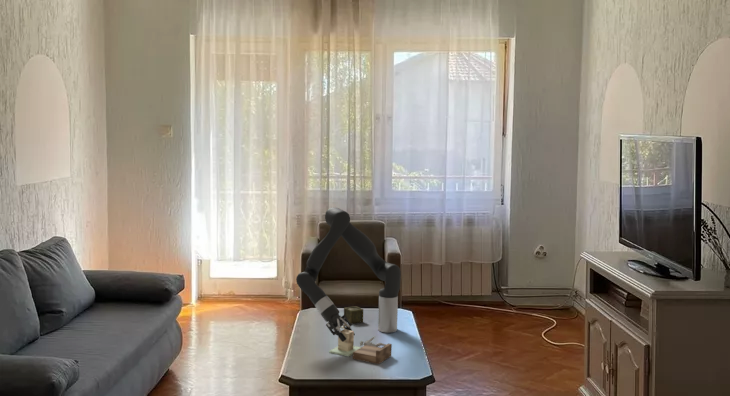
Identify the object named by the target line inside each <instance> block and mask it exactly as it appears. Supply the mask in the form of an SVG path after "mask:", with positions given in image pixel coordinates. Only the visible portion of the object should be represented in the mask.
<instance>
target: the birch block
mask: <svg viewBox="0 0 730 396" xmlns="http://www.w3.org/2000/svg"><path fill="white" fill-rule="evenodd" d="M341 332H342V333H343V335H344V336H345V337H346V340H345V341H343V342H342V341H341V339H340V338H339V337H338V336H337V347H338V350H342V351H347V352H348V351H350V350H352V349H353V346H355V345H354V338H355V335H354V333H355V331H354V330H352V331H351V330H345V329H344V328H343V329H342V330H341Z"/></svg>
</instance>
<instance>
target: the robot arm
mask: <svg viewBox="0 0 730 396" xmlns="http://www.w3.org/2000/svg"><path fill="white" fill-rule="evenodd" d="M324 220H325V222H326V224H327V225H328V226H329V227H330V228H329V230H328V232H327V234H326V235H325V237H324V238H322V240H321V241H320V242H318V243H317V245H315V247H314V248H313V249H312V251H311V253H310V255H309V257H308V259H307V261H306V267H305V270H303V272H299V273H298V274H297V276H296V279H295V282H296V284H297V286H298V288H300V290H301V291H302V292H303V293H304V294H305V295H307V297H308V298H309V300H310V302H311V303H312V304H313V305H314V307H315V309H316V310H317V312H318V313H319V315H320V316H321V317H322V318H323V320H324V321H325V322H327V323H326V324H325V326H326V327H327V330H328V331H330V333H331V334H332V335H333V336H337V338H338V337H339V338H340V339H341V341H342V342H343V341H345V340H346V337H345V336H344V335H343V333H342V332H341V331H342V330H344V329H345V330H351V331H353V330H352V328H351V327H352V326H353V324H351V323H350V322H349V320H348V319H347V317H346V316H345V315H344V314H343V315H342V316H341V315H340V310H339V309H338V307H337V306H336V304H334V302H333V301H332V300H331V299H330V297H329V296H328V295H327V294H326V292H325V291H324V290H323V288H321V287H320V286H319V285H318V284H317V283H316V281H317V279H318V276H319V273H320V270H321V269H322V266H323V264H324V263H325V261H326V259H327V257H328V255H329V254H330V252H331V251H332V249H333V248H334V246H335V245H336V243H337V242H338V240H339V239H340V238H342V239H343V240H344V241H345V242H346V244H347V245H348V246H349V247H350V248H351V250H353V252H354V253H356V255H358V256H359V258H360V259H362V260H363V262H365V263H366V264H367V265H368V266H369V268H370V269H371V270H372V272H373V273H374V275H375V276H376V277H377V279H379V280H380V281H383V282H384V287H383V288H380V289H379V291H378V317H377V318H378V322H377V330H378V331H379V332H382V333H386V334H387V333H390V334H391V333H396V332H397V330H398V310H399V308H398V306H399V305H398V303H399V301H398V300H399V292H400V289H401V279H402V278H401V277H402V271H401V268H400V267H399V265H397V264H395V263H390V262H388V261H386V260H384V259H383V258H382V257H381V256H380V255H379V254H378V251H377V247H376V245H375V243H374V242H373V241H372V240H371V238H369V237H368V235H366V234H365V233H364V232H363V231H361V230H360V229H358V228H357V227H356V226H354V224H352V223H351V216H350V214H349V213H348V212H347V211H345V210H343V209H341V208H339V207H329V208H328V209H327V210H326V212H325V213H324ZM341 329H342V330H341ZM355 334H356V333H355V332H354V336H355Z"/></svg>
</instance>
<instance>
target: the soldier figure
mask: <svg viewBox="0 0 730 396" xmlns="http://www.w3.org/2000/svg"><path fill="white" fill-rule="evenodd" d="M374 339H375V336H373V337H371V338H369V339H368V340H366V341H362V340H361V341H360V342H359V345H360V346H359V347H362V346H365V345H369V346H375V347H380V346H382V347H383V346H385V345H387V344H388V343H387V344H385V343H382V342H377V343H376V344H375V343H373V342H372V341H373V340H374Z"/></svg>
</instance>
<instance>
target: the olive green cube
mask: <svg viewBox="0 0 730 396" xmlns="http://www.w3.org/2000/svg"><path fill="white" fill-rule="evenodd" d="M343 315H345V316H346V317H347V319H348V320H349V322H350V323H351V324H352V325H353V324H361V323H364V309H363V308H361V307H360V306H356V305H355V306H348V307H343Z"/></svg>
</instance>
